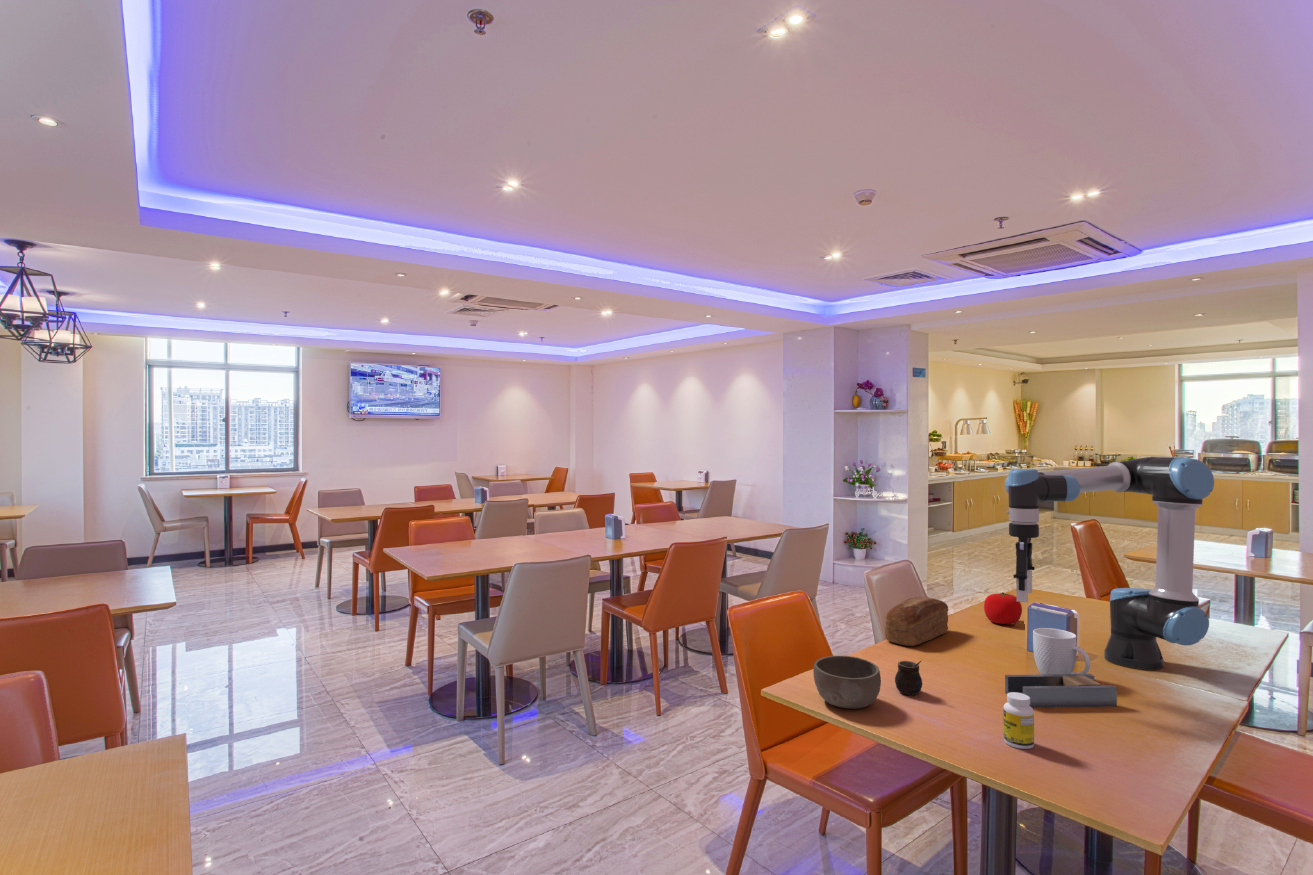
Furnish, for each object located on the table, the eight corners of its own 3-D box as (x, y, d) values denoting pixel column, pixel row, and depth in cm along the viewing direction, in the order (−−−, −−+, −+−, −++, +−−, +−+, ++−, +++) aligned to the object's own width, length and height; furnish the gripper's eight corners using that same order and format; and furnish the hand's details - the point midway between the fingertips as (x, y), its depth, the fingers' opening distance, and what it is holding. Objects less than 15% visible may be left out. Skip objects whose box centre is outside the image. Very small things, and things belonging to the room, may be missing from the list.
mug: (1098, 683, 188) (1098, 637, 189) (1080, 691, 182) (1080, 644, 183) (1044, 668, 201) (1044, 625, 201) (1026, 675, 195) (1025, 631, 195)
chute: (1091, 692, 182) (1090, 674, 182) (1116, 706, 172) (1116, 687, 172) (1005, 693, 181) (1005, 674, 181) (1026, 707, 171) (1026, 688, 171)
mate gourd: (901, 685, 187) (901, 650, 187) (927, 693, 182) (928, 657, 182) (889, 692, 182) (890, 656, 182) (916, 700, 177) (916, 663, 177)
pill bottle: (997, 738, 154) (997, 691, 154) (1022, 737, 154) (1022, 690, 154) (1014, 750, 148) (1014, 701, 148) (1040, 749, 148) (1039, 700, 148)
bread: (953, 632, 240) (953, 595, 240) (913, 650, 219) (913, 610, 219) (921, 625, 249) (921, 590, 249) (880, 642, 228) (879, 603, 228)
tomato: (991, 627, 246) (991, 596, 246) (979, 617, 259) (979, 588, 259) (1028, 628, 243) (1027, 597, 244) (1014, 618, 257) (1014, 589, 257)
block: (1085, 692, 180) (1085, 676, 180) (1100, 701, 174) (1100, 684, 174) (1062, 692, 180) (1062, 676, 180) (1077, 701, 173) (1077, 684, 174)
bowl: (846, 721, 164) (845, 681, 164) (799, 697, 179) (799, 660, 180) (895, 708, 172) (895, 669, 172) (847, 686, 187) (846, 651, 188)
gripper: (1013, 517, 200) (1014, 587, 200) (1003, 526, 179) (1004, 604, 179) (1042, 519, 196) (1042, 590, 196) (1035, 528, 175) (1036, 607, 175)
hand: (1024, 597), depth 187 cm, fingers open, 13 cm apart
